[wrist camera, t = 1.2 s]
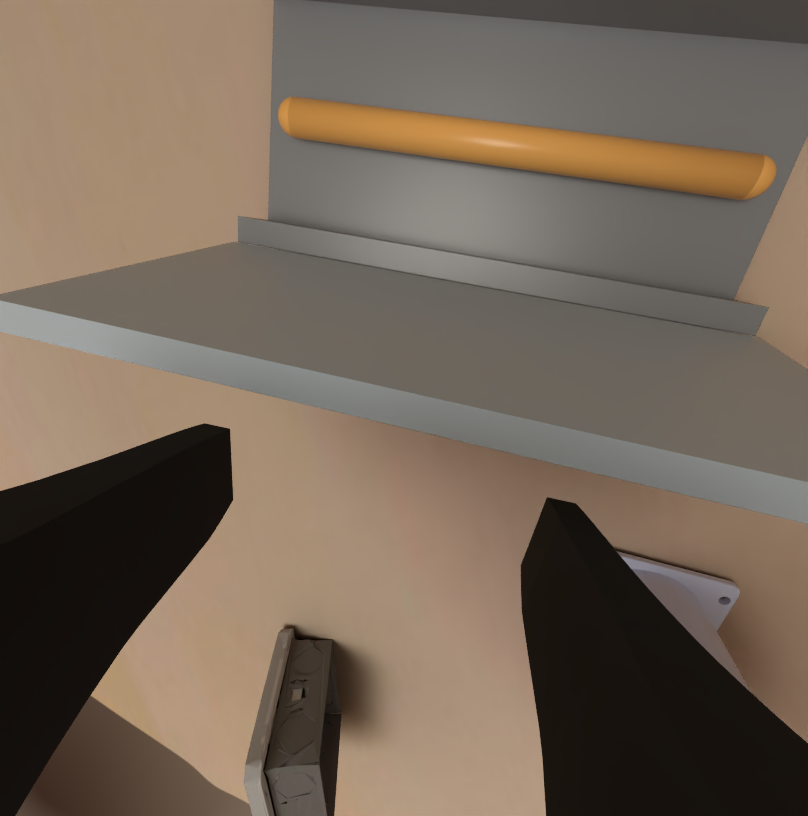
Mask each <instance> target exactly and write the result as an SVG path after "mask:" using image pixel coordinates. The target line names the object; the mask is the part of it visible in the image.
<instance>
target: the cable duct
mask: <svg viewBox="0 0 808 816" xmlns="http://www.w3.org/2000/svg"><path fill="white" fill-rule="evenodd" d="M807 136H808V0H274V16H273V55H272V93H271V132H270V170H269V208H268V220H264V219H257V218H249V217H241V216H238V242H241V243H246V244H252V245H257V246H263V247H268V248H274V249H279V250H285V251H290V252H296V253H301V254H307V255H312V256H318V257H323V258H329V259H334V260H340V261H345V262H351V263H356V264H362V265H367V266H373V267H378V268H384V269H389V270H395V271H400V272H406V273H411V274H417V275H422V276H428V277H433V278H439V279H444V280H450V281H455V282H460V283H466V284H471V285H477V286H482V287H488V288H493V289H499V290H504V291H510V292H515V293H521V294H526V295H532V296H537V297H543V298H548V299H554V300H559V301H565V302H570V303H576V304H581V305H587V306H592V307H598V308H603V309H609V310H614V311H620V312H625V313H631V314H636V315H642V316H647V317H653V318H658V319H664V320H669V321H675V322H680V323H686V324H691V325H697V326H702V327H708V328H713V329H719V330H724V331H730V332H735V333H741V334H746V335H752V336H755V335H756V333H757V331H758V329H759V327H760V325H761V323H762V321H763V319H764V316H765V314H766V312H767V310H768V308H769V307H764V306H760V305H755V304H751V303H746V302H741V301H737V300H734V297H735V295H736V293H737V291H738V289H739V286H740V284H741V282H742V280H743V277H744V275H745V273H746V271H747V269H748V266H749V264H750V262H751V260H752V257H753V255H754V253H755V251H756V249H757V246H758V244H759V242H760V240H761V238H762V235H763V233H764V231H765V229H766V226H767V224H768V222H769V220H770V218H771V215H772V213H773V211H774V209H775V206H776V204H777V202H778V200H779V198H780V195H781V193H782V191H783V189H784V187H785V184H786V182H787V180H788V178H789V175H790V173H791V171H792V169H793V167H794V164H795V162H796V160H797V158H798V155H799V153H800V151H801V149H802V147H803V144H804V142H805V140H806V138H807Z"/></svg>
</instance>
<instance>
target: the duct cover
mask: <svg viewBox="0 0 808 816" xmlns="http://www.w3.org/2000/svg"><path fill="white" fill-rule="evenodd" d="M0 332H4V333H8V334H12V335H16V336H21V337H25V338H29V339H33V340H37V341H42V342H46V343H50V344H54V345H58V346H63V347H67V348H71V349H75V350H79V351H84V352H88V353H92V354H96V355H100V356H105V357H109V358H113V359H117V360H121V361H126V362H130V363H134V364H138V365H142V366H147V367H151V368H155V369H159V370H163V371H168V372H172V373H176V374H180V375H184V376H189V377H193V378H197V379H201V380H205V381H210V382H214V383H218V384H222V385H226V386H230V387H235V388H239V389H243V390H247V391H251V392H256V393H260V394H264V395H268V396H272V397H277V398H281V399H285V400H289V401H293V402H298V403H302V404H306V405H310V406H314V407H319V408H323V409H327V410H331V411H335V412H340V413H344V414H348V415H352V416H356V417H361V418H365V419H369V420H373V421H377V422H382V423H386V424H390V425H394V426H398V427H403V428H407V429H411V430H415V431H419V432H424V433H428V434H432V435H436V436H440V437H445V438H449V439H453V440H457V441H461V442H466V443H470V444H474V445H478V446H482V447H487V448H491V449H495V450H499V451H503V452H507V453H512V454H516V455H520V456H524V457H528V458H533V459H537V460H541V461H545V462H549V463H554V464H558V465H562V466H566V467H570V468H575V469H579V470H583V471H587V472H591V473H596V474H600V475H604V476H608V477H612V478H617V479H621V480H625V481H629V482H633V483H638V484H642V485H646V486H650V487H654V488H659V489H663V490H667V491H671V492H675V493H680V494H684V495H688V496H692V497H696V498H701V499H705V500H709V501H713V502H717V503H722V504H726V505H730V506H734V507H738V508H743V509H747V510H751V511H755V512H759V513H763V514H768V515H772V516H776V517H780V518H784V519H789V520H793V521H797V522H801V523H805V524H808V370H807V369H806V368H804V367H803V366H801V365H800V364H798V363H797V362H795V361H794V360H792V359H791V358H789V357H788V356H786V355H785V354H783V353H782V352H780V351H779V350H777V349H776V348H774V347H773V346H771V345H770V344H768V343H767V342H765V341H764V340H762V339H761V338H758V337H753V336H747V335H742V334H736V333H731V332H725V331H720V330H714V329H709V328H704V327H698V326H693V325H687V324H682V323H676V322H671V321H665V320H660V319H654V318H649V317H643V316H638V315H632V314H627V313H621V312H616V311H610V310H605V309H599V308H594V307H588V306H583V305H577V304H572V303H566V302H561V301H555V300H550V299H544V298H539V297H533V296H528V295H522V294H517V293H512V292H506V291H501V290H495V289H490V288H484V287H479V286H473V285H468V284H462V283H457V282H451V281H446V280H440V279H435V278H429V277H424V276H418V275H413V274H407V273H402V272H396V271H391V270H385V269H380V268H374V267H369V266H363V265H358V264H352V263H347V262H341V261H336V260H330V259H325V258H320V257H314V256H309V255H303V254H298V253H292V252H287V251H281V250H276V249H270V248H265V247H259V246H254V245H248V244H243V243H237V242H231V243H227V244H222V245H218V246H213V247H209V248H204V249H200V250H196V251H191V252H187V253H182V254H178V255H173V256H169V257H164V258H160V259H155V260H151V261H146V262H142V263H137V264H133V265H129V266H124V267H120V268H115V269H111V270H106V271H102V272H97V273H93V274H88V275H84V276H79V277H75V278H71V279H66V280H62V281H57V282H53V283H48V284H44V285H39V286H35V287H30V288H26V289H21V290H17V291H12V292H8V293H4V294H0Z"/></svg>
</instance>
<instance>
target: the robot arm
mask: <svg viewBox="0 0 808 816" xmlns="http://www.w3.org/2000/svg"><path fill="white" fill-rule="evenodd" d="M232 501H233V486H232V465H231V443H230V429H228V428H223V427H219V426H214V425H209V424H201V425H197V426H194V427H191V428H188V429H185V430H182V431H179V432H176V433H173V434H170V435H167V436H164V437H162V438H159V439H156V440H153V441H151V442H148V443H145V444H142V445H140V446H137V447H134V448H131V449H129V450H126V451H123V452H120V453H118V454H115V455H112V456H109V457H106V458H104V459H101V460H98V461H95V462H92V463H89V464H86V465H83V466H80V467H77V468H74V469H71V470H67V471H64V472H61V473H58V474H55V475H52V476H49V477H46V478H43V479H40V480H37V481H34V482H30V483H27V484H24V485H20V486H17V487H13V488H10V489H6V490H3V491H0V816H15V815H16V814H17V812H18V810H19V809H20V807H21V805H22V804H23V802H24V800H25V799H26V797H27V795H28V794H29V792H30V790H31V789H32V787H33V785H34V784H35V782H36V781H37V779H38V777H39V776H40V774H41V772H42V771H43V769H44V767H45V765H46V764H47V762H48V761H49V759H50V757H51V756H52V754H53V752H54V751H55V750H56V748H57V746H58V745H59V743H60V742H61V740H62V739H63V737H64V736H65V734H66V732H67V731H68V729H69V728H70V726H71V725H72V723H73V721H74V720H75V718H76V717H77V715H78V714H79V712H80V710H81V709H82V707H83V706H84V704H85V703H86V701H87V700H88V698H89V697H90V695H91V694H92V692H93V691H94V689H95V688H96V686H97V685H98V683H99V682H100V680H101V679H102V677H103V676H104V674H105V673H106V671H107V670H108V668H109V667H110V665H111V664H112V662H113V661H114V659H115V658H116V657H117V655H118V654H119V652H120V651H121V649H122V648H123V646H124V645H125V644H126V642H127V641H128V640H129V638H130V637H131V636H132V634H133V633H134V632H135V630H136V629H137V628H138V626H139V625H140V624H141V623H142V621H143V620H144V619H145V618H146V616H147V615H148V614H149V613H150V612H151V610H152V609H153V608H154V607H155V605H156V604H157V603H158V602H159V600H160V599H161V598H162V597H163V596H164V594H165V593H166V592H167V591H168V589H169V588H170V587H171V586H172V584H173V583H174V582H175V581H176V580H177V578H178V577H179V576H180V575H181V573H182V572H183V571H184V570H185V568H186V567H187V566H188V565H189V563H190V562H191V561H192V560H193V558H194V557H195V556H196V555H197V553H198V552H199V551H200V550H201V548H202V547H203V546H204V545H205V543H206V542H207V541H208V540H209V538H210V537H211V535H212V534H213V532H214V531H215V529H216V527H217V526H218V524H219V523H220V521H221V520H222V518H223V516H224V514H225V513H226V511H227V509H228V508H229V506H230V504H231V503H232ZM739 595H740V590H739V588H738V587H737V585H736V584H735V583H734V582H731V581H728V580H725V579H721V578H717V577H713V576H709V575H706V574H702V573H698V572H694V571H690V570H686V569H683V568H679V567H675V566H671V565H667V564H664V563H660V562H656V561H652V560H648V559H645V558H641V557H637V556H633V555H629V554H626V553H622V552H618V551H616V550H615V549H614V548H613V547H612V545H611V544H610V543H609V542H608V541H607V539H606V538H605V537H604V536H603V535H602V533H601V532H600V531H599V530H598V529H597V527H596V526H595V525H594V524H593V523H592V521H591V520H590V519H589V518H588V517H587V515H586V514H585V513H584V512H583V511H582V510H581V509H580V508H579V506H578V505H577V504H576V503H571V502H566V501H562V500H557V499H552V498H548V497H547V499H546V502H545V504H544V507H543V509H542V512H541V515H540V517H539V520H538V522H537V525H536V528H535V530H534V533H533V535H532V538H531V541H530V543H529V546H528V548H527V551H526V554H525V556H524V559H523V561H522V564H521V597H522V615H523V622H524V629H525V636H526V643H527V650H528V656H529V663H530V670H531V676H532V683H533V689H534V696H535V703H536V709H537V716H538V722H539V730H540V738H541V747H542V756H543V771H544V787H545V803H546V816H808V743H807V742H806V741H804V740H803V739H802V738H801V737H800V736H799V735H797V734H796V733H795V732H794V731H793V730H792V729H790V728H789V727H788V726H787V725H786V724H785V723H784V722H783V721H781V720H780V719H779V718H778V717H777V716H776V715H775V714H774V713H773V712H771V711H770V710H769V709H768V708H767V707H766V706H765V705H764V704H763V703H761V702H760V701H759V700H758V699H757V698H756V697H755V696H754V695H753V694H752V693H751V692H750V690H749V688H748V686H747V684H746V683H745V681H744V679H743V677H742V675H741V674H740V672H739V670H738V668H737V667H736V665H735V663H734V661H733V659H732V658H731V656H730V654H729V652H728V650H727V649H726V647H725V645H724V643H723V642H722V640H721V638H720V636H719V634H718V633H717V631H718V629H719V627H720V626H721V624H722V623H723V621H724V619H725V618H726V616H727V615H728V613H729V611H730V610H731V608H732V607H733V605H734V603H735V602H736V600H737V599H738V597H739ZM721 597H725V598H723V599H720V598H721Z"/></svg>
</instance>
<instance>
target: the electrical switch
mask: <svg viewBox="0 0 808 816" xmlns="http://www.w3.org/2000/svg"><path fill="white" fill-rule="evenodd" d="M307 680H308V681H307ZM329 704H330V705H329ZM340 712H341V710H340V702H339V693H338V685H337V677H336V669H335V661H334V653H333V645H332V640H316V641H315V640H308V639H307V640H295V635H294V629H293V628H291V629H282V630H281V631H280V632H279V633H278V637H277V640H276V644H275V648H274V652H273V655H272V659H271V663H270V667H269V671H268V675H267V679H266V683H265V687H264V691H263V695H262V699H261V703H260V707H259V711H258V714H257V718H256V723H255V727H254V731H253V735H252V739H251V743H250V748H249V752H248V756H247V760H246V764H245V776H244V785H245V789H246V793H247V796H248V800H249V804H250V808H251V811H252V816H334V810H335V796H336V782H337V768H338V754H339V740H340V726H341V714H331V713H340ZM326 803H327V804H326ZM327 805H328V806H327Z"/></svg>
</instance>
